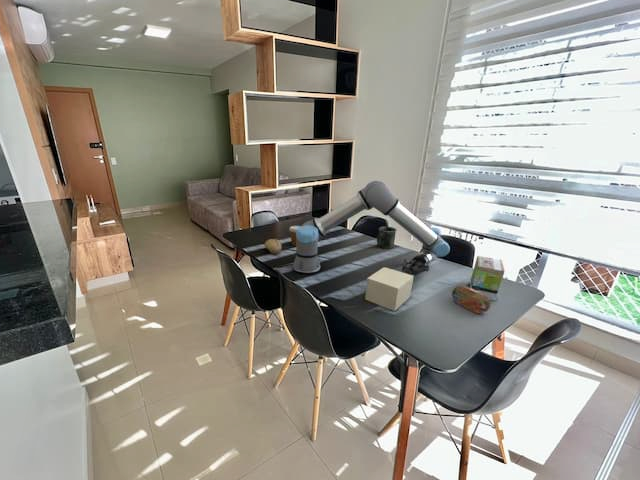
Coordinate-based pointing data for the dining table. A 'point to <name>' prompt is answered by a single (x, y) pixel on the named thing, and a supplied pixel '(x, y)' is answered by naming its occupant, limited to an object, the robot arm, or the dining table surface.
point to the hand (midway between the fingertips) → (403, 275)
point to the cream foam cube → (388, 288)
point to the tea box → (487, 276)
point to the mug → (386, 237)
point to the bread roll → (273, 246)
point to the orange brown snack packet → (471, 299)
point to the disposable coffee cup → (293, 234)
